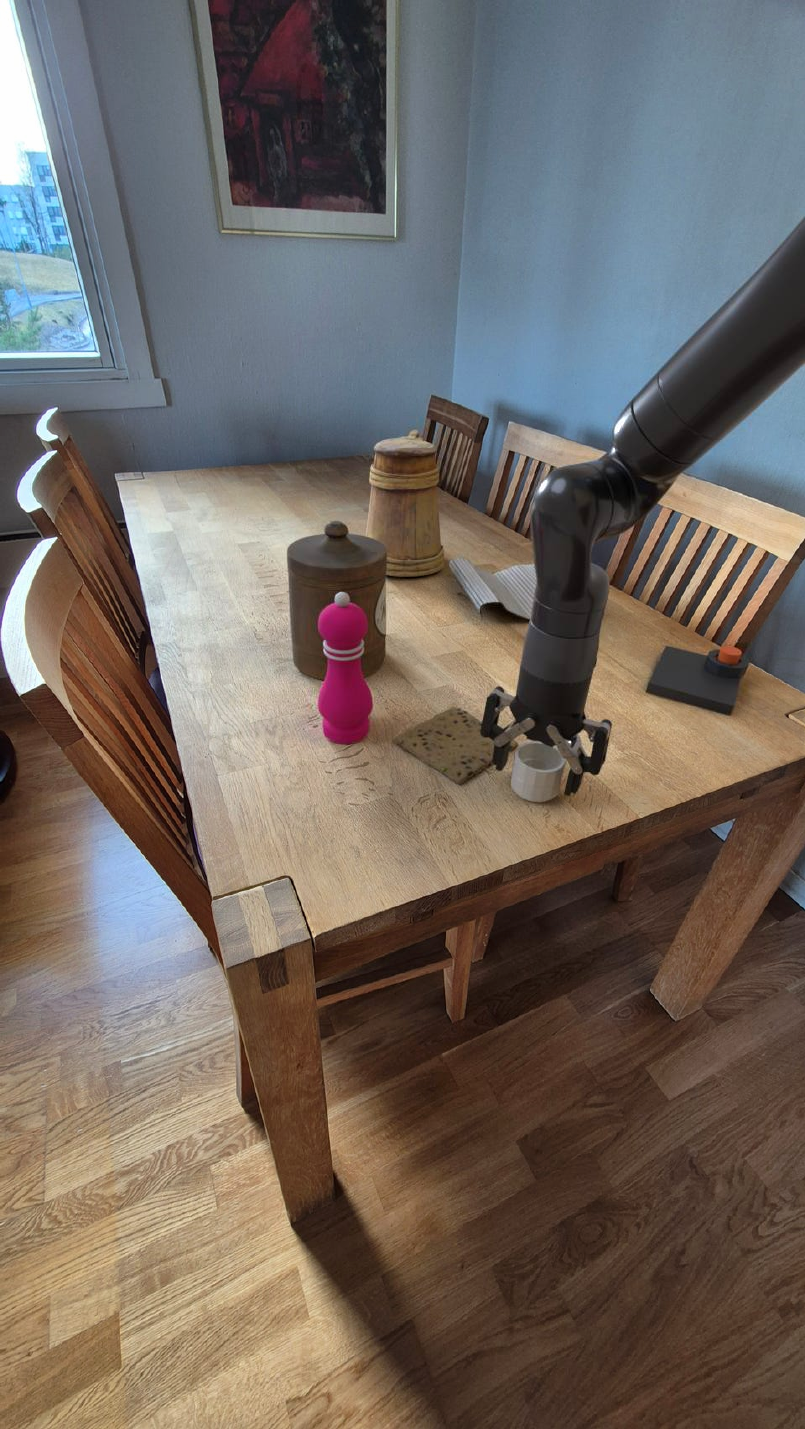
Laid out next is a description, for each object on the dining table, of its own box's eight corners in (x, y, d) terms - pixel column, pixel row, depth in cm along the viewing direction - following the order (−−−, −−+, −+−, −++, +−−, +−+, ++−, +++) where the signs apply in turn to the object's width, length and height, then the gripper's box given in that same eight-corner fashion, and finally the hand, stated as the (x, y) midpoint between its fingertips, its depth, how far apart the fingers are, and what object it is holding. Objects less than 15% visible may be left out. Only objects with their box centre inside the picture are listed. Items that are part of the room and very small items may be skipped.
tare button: (739, 658, 98) (742, 649, 97) (737, 667, 96) (740, 657, 95) (718, 653, 99) (722, 644, 98) (716, 661, 97) (719, 651, 96)
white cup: (564, 783, 77) (571, 751, 74) (549, 811, 73) (556, 778, 70) (519, 767, 79) (525, 735, 76) (502, 793, 75) (507, 761, 72)
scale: (743, 674, 100) (750, 655, 98) (733, 716, 90) (741, 696, 88) (663, 654, 105) (668, 635, 103) (645, 692, 95) (651, 672, 93)
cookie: (452, 707, 90) (453, 702, 89) (520, 746, 83) (521, 740, 82) (391, 740, 83) (391, 735, 82) (458, 785, 76) (459, 779, 75)
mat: (600, 619, 115) (606, 596, 113) (477, 627, 112) (480, 603, 109) (554, 572, 134) (557, 551, 131) (447, 577, 130) (449, 555, 128)
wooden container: (402, 667, 99) (407, 529, 87) (317, 691, 92) (309, 546, 80) (358, 630, 109) (356, 502, 97) (278, 649, 103) (266, 515, 90)
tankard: (354, 577, 129) (351, 448, 115) (371, 539, 148) (370, 425, 134) (441, 583, 128) (450, 453, 114) (447, 544, 147) (455, 429, 133)
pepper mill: (308, 728, 85) (298, 590, 73) (350, 709, 89) (347, 576, 78) (341, 753, 80) (336, 611, 69) (383, 732, 85) (385, 594, 73)
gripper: (481, 658, 66) (467, 776, 75) (616, 697, 60) (583, 820, 69) (507, 631, 71) (491, 744, 80) (634, 664, 66) (601, 782, 75)
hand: (534, 779), depth 75 cm, fingers open, 8 cm apart
